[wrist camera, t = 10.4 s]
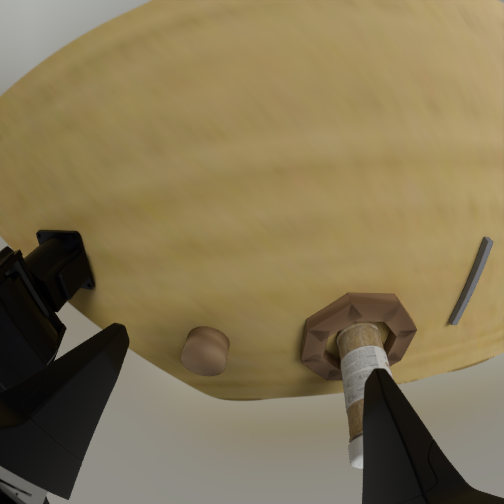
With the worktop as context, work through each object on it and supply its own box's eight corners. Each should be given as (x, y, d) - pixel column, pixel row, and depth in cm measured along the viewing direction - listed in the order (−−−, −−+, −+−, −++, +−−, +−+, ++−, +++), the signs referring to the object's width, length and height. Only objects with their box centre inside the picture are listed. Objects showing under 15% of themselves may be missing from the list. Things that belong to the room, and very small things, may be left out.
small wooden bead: (199, 356, 30) (193, 377, 27) (180, 329, 28) (172, 350, 25) (236, 351, 29) (232, 373, 26) (218, 322, 27) (212, 345, 24)
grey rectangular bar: (454, 319, 24) (456, 324, 23) (448, 320, 24) (451, 325, 23) (489, 237, 19) (493, 241, 18) (483, 236, 19) (488, 240, 18)
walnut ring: (296, 369, 29) (296, 379, 28) (311, 290, 24) (313, 302, 22) (388, 367, 28) (390, 377, 27) (423, 294, 23) (429, 304, 21)
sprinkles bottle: (379, 343, 26) (407, 460, 15) (338, 354, 27) (351, 473, 16) (377, 313, 24) (414, 443, 13) (331, 324, 25) (348, 459, 14)
